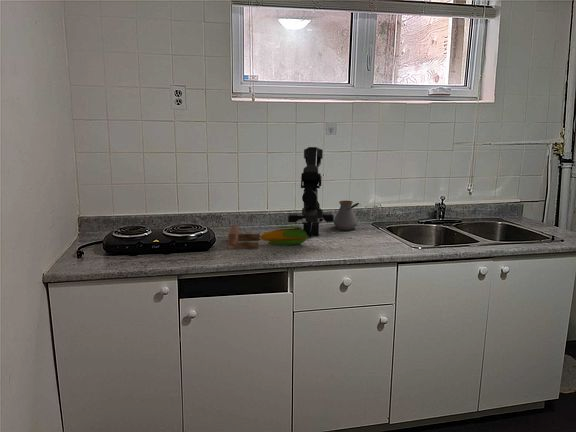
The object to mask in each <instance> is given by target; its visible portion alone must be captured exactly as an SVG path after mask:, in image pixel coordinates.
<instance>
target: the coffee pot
mask: <svg viewBox="0 0 576 432" xmlns="http://www.w3.org/2000/svg"><path fill="white" fill-rule="evenodd" d="M338 203H339V205H340V207H339V208H338V211H337V213H336V216H334V217H335V218H334V222H333V225H334V226H335V227H337V229H338V230H341V231H351V230H354V228H356V227H358V224H359V221H358V220H357V217H356V214H355V211H354V209H353V208H358V207H361V204H360V203H359V202H356V203H354V202H353V201H352V200H340V201H338ZM353 203H354V204H353Z"/></svg>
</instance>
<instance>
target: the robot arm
mask: <svg viewBox="0 0 576 432" xmlns="http://www.w3.org/2000/svg"><path fill="white" fill-rule="evenodd" d="M323 152H324V151H323V148H322V149H321V148H319V147H317V146H308V147H306V148H304V149H303V159H304V160H305V164H306V166H305V167H303V170H302V172H301V177H300V181H301V182H300V189H303V193H302V196H301V200H302V202H303V208H301V214H298V213H297V212H296V213H295V212H294V213H293V212H292V213H290V212H289V213H288V214H287V221H288V223H297V222H298V221H301V224H302V226H303V227H302V229H303V230H305V231H306V232H307V234H308V236H309V238H310V239H311V238H312V237H313V236H314V237H315V236H317V237H318V236H320V233H319V231H320V230H319V229H320V223H321V222H323V220H324V221H325V222H326V223H334V220H335V218H334V217H335V216H334V214H333V213H332V212H323V211H324V210H323V209H322V208H321V206H320V203H319V201H318V189H321V187H322V181H323V180H322V177H323V176H322V175H321V173H320V171H319V170H320V169H319V167H320V166H321V164H322V160H323V159H324V158H323V156H324V153H323ZM308 236H307V237H308Z"/></svg>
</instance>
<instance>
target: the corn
mask: <svg viewBox="0 0 576 432" xmlns="http://www.w3.org/2000/svg"><path fill="white" fill-rule="evenodd" d="M273 229H274V230H271V231H270V230H269V231H266V232H264V233H262V234H261V235H260V240H262V241H267V244H269V245H272V246H297V245H300V244H302V243H304V242H305V241H307V239H308V234H307V232H306V231H305V230H303V227H299V226H295V225H289V226H279V227H273ZM275 229H276V230H275Z"/></svg>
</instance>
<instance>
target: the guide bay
mask: <svg viewBox="0 0 576 432" xmlns="http://www.w3.org/2000/svg"><path fill="white" fill-rule="evenodd" d="M260 236H261V235H260V232H259V233H254V232H253V233H241V232H240V226H239V225H231V227H230V229H229V231H228V236H227V238H228V241H227V243H228V249H229V250H230V249H237V250H238V249H245V250H246V249H248V250H249V249H256V250H257V249H259V248H260V247H259V243H260V242H259V241H260V240H261V237H260Z"/></svg>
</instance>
